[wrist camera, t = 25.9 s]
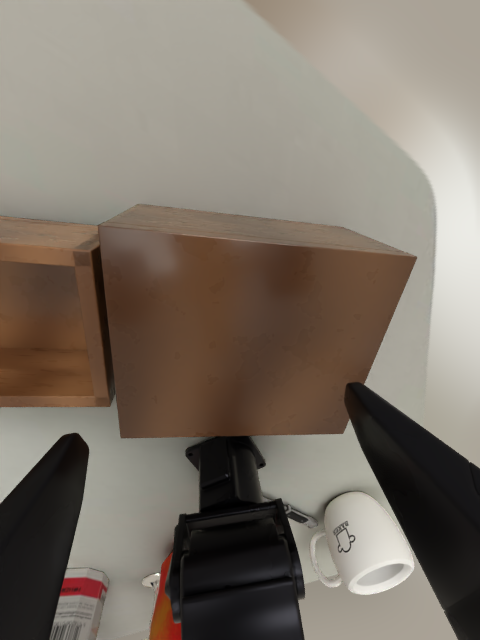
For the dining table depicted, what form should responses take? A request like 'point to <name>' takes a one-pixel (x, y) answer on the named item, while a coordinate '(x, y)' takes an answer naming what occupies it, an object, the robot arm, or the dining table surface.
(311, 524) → the knife
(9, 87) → the dining table surface
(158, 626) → the apple
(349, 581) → the mug
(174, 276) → the cabinet
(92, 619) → the spray bottle
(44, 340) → the drawer
